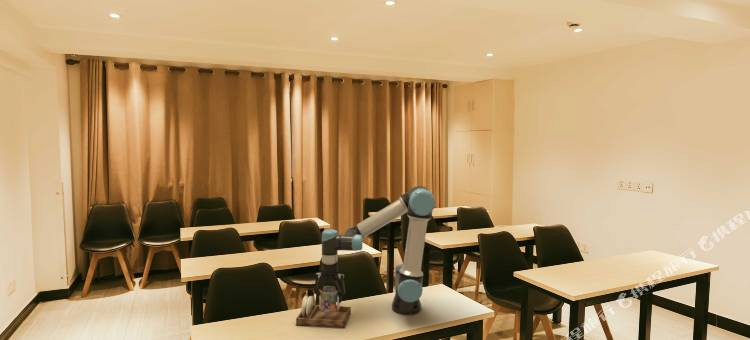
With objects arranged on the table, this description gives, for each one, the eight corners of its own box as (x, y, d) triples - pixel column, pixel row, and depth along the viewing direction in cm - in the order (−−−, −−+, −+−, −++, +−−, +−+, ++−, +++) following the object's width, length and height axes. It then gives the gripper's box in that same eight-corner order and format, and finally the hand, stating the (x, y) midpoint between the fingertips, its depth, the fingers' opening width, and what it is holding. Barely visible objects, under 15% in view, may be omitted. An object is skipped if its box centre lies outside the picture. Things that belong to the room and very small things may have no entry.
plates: (313, 312, 220) (312, 293, 220) (307, 321, 211) (307, 300, 210) (307, 312, 221) (307, 292, 220) (301, 320, 211) (301, 300, 210)
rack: (350, 313, 222) (350, 306, 222) (344, 328, 205) (344, 321, 205) (306, 311, 225) (306, 304, 224) (296, 325, 208) (296, 318, 207)
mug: (339, 314, 209) (339, 292, 208) (319, 315, 208) (319, 293, 207) (337, 304, 221) (338, 283, 220) (319, 305, 219) (319, 284, 218)
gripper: (352, 260, 214) (352, 306, 216) (310, 259, 217) (310, 304, 219) (349, 265, 207) (349, 312, 209) (306, 263, 209) (306, 310, 211)
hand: (329, 308), depth 214 cm, fingers closed on mug, 8 cm apart
